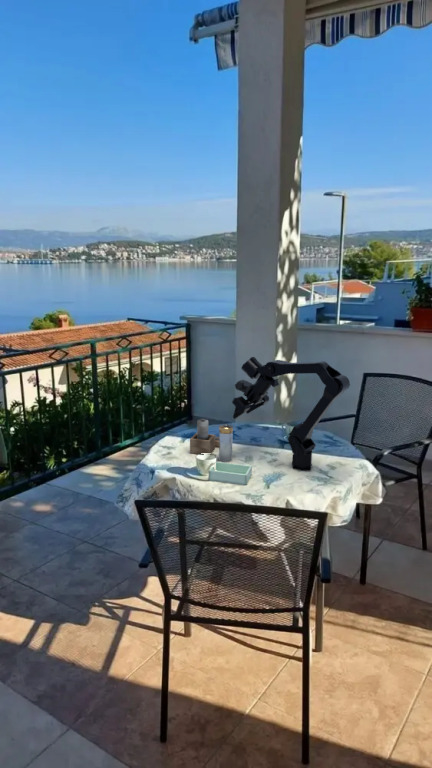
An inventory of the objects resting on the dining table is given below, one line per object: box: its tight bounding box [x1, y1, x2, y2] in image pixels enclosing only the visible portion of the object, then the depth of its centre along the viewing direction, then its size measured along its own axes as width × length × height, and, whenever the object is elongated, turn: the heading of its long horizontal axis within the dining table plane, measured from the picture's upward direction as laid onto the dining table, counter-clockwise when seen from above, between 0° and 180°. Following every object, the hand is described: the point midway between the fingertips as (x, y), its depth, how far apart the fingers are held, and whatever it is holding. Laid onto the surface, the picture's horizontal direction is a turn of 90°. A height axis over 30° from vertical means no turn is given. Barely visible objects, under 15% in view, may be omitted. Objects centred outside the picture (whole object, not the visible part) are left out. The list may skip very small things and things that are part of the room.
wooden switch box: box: [215, 436, 219, 449], centre depth 205 cm, size 8×6×3 cm
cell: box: [218, 423, 234, 463], centre depth 188 cm, size 5×5×14 cm
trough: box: [208, 461, 253, 486], centre depth 173 cm, size 13×9×4 cm, turn 74°
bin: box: [189, 418, 216, 455], centre depth 197 cm, size 8×8×13 cm
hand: (240, 415), depth 197 cm, fingers open, 9 cm apart
